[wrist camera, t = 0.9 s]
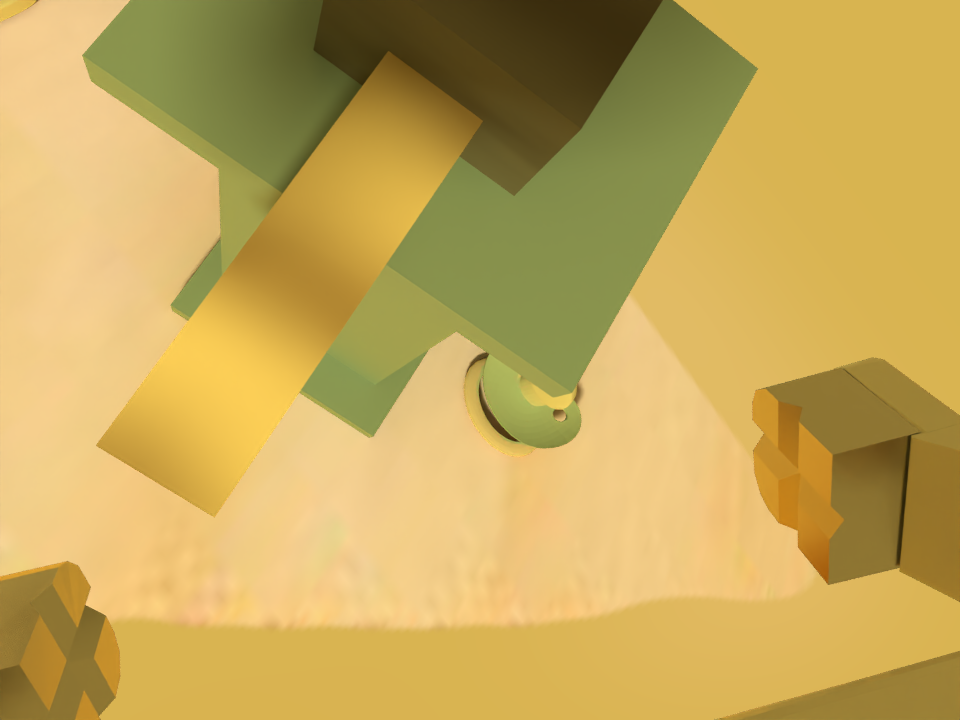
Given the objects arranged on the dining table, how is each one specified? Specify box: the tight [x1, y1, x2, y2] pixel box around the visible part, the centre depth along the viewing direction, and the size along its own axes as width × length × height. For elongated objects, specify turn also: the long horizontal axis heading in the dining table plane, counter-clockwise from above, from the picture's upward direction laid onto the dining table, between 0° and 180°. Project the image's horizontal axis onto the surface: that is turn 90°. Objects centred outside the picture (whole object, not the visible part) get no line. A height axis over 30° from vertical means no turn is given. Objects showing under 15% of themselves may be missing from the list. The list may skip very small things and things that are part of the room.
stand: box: [82, 0, 758, 438], centre depth 37 cm, size 15×16×26 cm
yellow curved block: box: [96, 0, 663, 517], centre depth 21 cm, size 18×7×5 cm, turn 147°
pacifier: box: [464, 354, 581, 456], centre depth 49 cm, size 7×6×6 cm
